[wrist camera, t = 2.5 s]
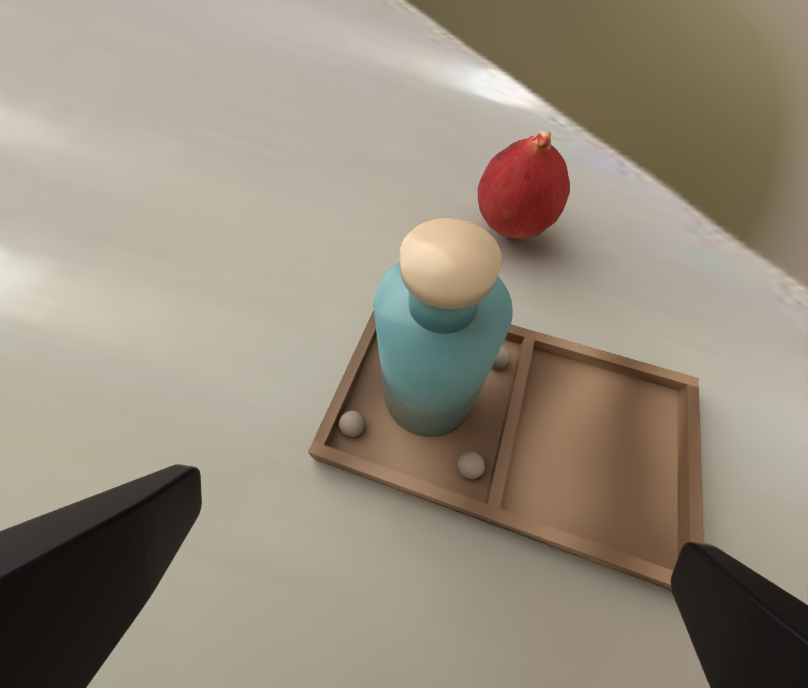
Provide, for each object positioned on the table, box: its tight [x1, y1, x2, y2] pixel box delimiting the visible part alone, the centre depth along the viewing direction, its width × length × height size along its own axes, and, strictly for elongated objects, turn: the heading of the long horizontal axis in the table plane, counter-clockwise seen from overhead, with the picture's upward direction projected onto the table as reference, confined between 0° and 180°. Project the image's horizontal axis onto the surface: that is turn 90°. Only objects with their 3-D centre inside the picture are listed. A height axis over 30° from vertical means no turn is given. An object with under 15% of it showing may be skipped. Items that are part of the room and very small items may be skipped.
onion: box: [478, 131, 570, 239], centre depth 26 cm, size 6×6×8 cm
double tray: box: [308, 311, 704, 590], centre depth 21 cm, size 19×11×2 cm, turn 71°
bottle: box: [374, 218, 513, 437], centre depth 17 cm, size 5×5×12 cm
